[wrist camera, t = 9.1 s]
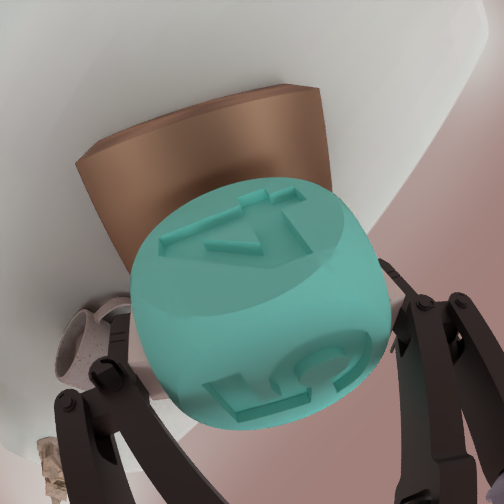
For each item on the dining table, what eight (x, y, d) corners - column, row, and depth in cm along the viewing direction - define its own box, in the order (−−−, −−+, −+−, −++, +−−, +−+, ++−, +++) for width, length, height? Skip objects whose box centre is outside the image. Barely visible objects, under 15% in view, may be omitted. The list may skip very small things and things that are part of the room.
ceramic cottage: (90, 467, 50) (93, 518, 37) (30, 445, 41) (27, 499, 29) (117, 452, 47) (122, 513, 35) (47, 426, 39) (43, 492, 26)
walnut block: (163, 284, 26) (165, 332, 22) (98, 140, 18) (75, 163, 13) (307, 236, 28) (337, 274, 23) (282, 83, 19) (319, 88, 15)
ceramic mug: (118, 363, 30) (117, 418, 24) (60, 332, 26) (48, 389, 20) (171, 315, 29) (178, 376, 23) (106, 274, 24) (95, 336, 18)
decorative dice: (136, 219, 13) (118, 360, 7) (295, 159, 14) (404, 249, 7) (198, 326, 18) (222, 445, 12) (318, 279, 18) (384, 382, 12)
